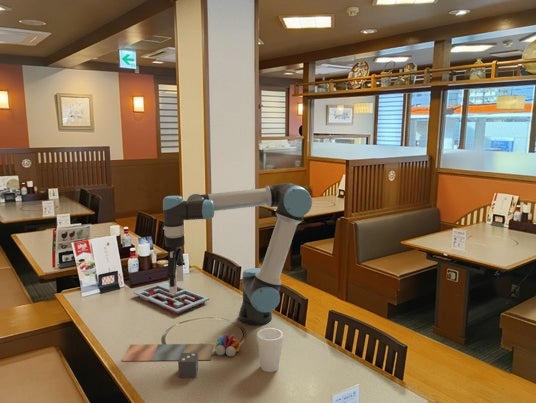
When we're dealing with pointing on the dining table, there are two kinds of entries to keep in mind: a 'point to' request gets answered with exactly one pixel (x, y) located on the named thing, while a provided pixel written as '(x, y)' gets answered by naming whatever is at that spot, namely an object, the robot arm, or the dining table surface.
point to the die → (188, 365)
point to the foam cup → (269, 348)
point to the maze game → (171, 298)
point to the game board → (167, 352)
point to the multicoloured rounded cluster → (227, 345)
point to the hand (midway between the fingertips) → (176, 287)
